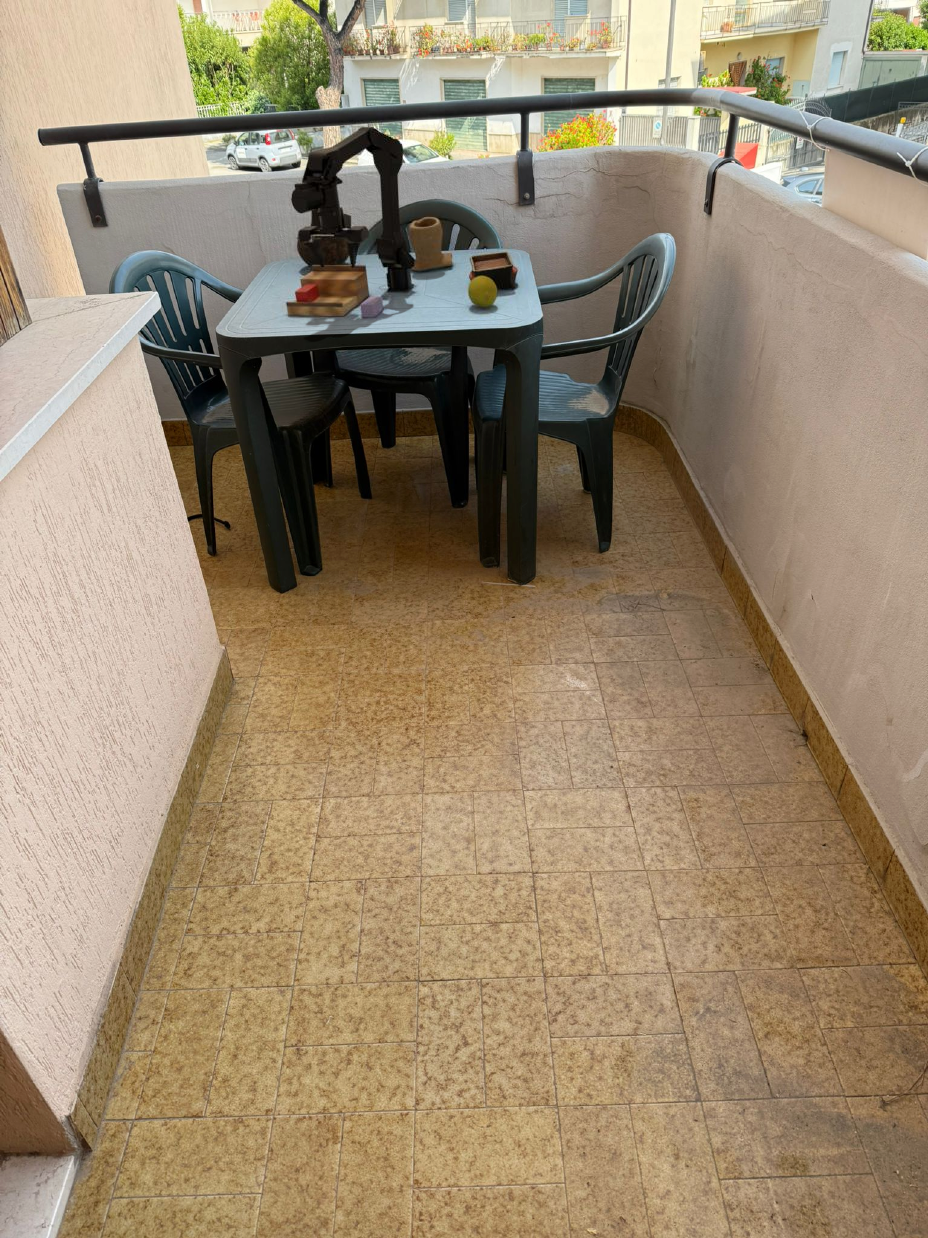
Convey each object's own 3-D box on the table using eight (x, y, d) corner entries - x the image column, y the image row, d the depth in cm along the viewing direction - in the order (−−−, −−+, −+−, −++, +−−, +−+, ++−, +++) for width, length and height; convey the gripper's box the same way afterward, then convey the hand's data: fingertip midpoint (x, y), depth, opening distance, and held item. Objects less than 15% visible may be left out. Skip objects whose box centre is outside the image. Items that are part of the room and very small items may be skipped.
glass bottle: (310, 260, 289) (295, 169, 273) (359, 258, 286) (348, 166, 270) (293, 273, 275) (276, 179, 259) (345, 272, 272) (331, 176, 256)
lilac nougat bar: (383, 308, 237) (381, 296, 235) (373, 317, 231) (372, 304, 229) (371, 308, 238) (369, 296, 236) (361, 316, 232) (360, 304, 230)
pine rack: (369, 295, 249) (365, 264, 244) (343, 316, 234) (338, 284, 229) (317, 294, 254) (312, 264, 249) (288, 315, 238) (282, 283, 233)
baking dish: (468, 300, 245) (468, 266, 238) (469, 274, 258) (469, 241, 250) (517, 301, 245) (519, 267, 238) (515, 275, 257) (517, 242, 250)
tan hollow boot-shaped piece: (414, 276, 264) (409, 224, 255) (406, 267, 273) (401, 217, 264) (460, 269, 266) (457, 218, 257) (451, 261, 276) (447, 211, 267)
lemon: (500, 310, 229) (499, 279, 224) (472, 313, 228) (470, 282, 224) (493, 299, 238) (492, 269, 233) (466, 302, 237) (464, 272, 232)
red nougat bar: (319, 296, 243) (317, 284, 241) (308, 304, 237) (306, 291, 235) (307, 296, 244) (305, 283, 242) (296, 303, 238) (294, 291, 236)
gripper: (372, 198, 225) (380, 259, 234) (310, 199, 230) (319, 259, 239) (356, 207, 216) (364, 270, 226) (292, 208, 222) (302, 269, 231)
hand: (338, 267), depth 231 cm, fingers open, 9 cm apart
